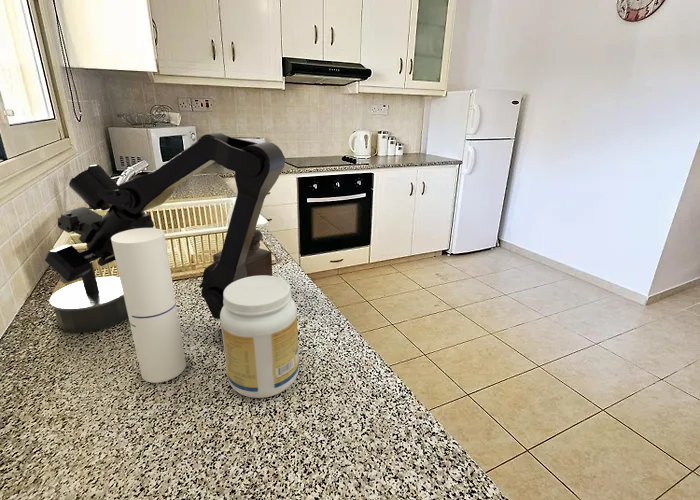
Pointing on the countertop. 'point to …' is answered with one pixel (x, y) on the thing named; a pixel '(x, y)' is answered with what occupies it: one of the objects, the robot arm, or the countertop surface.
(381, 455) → the countertop surface
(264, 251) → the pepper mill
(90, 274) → the pan lid
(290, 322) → the supplement tub
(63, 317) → the pan
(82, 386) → the countertop surface
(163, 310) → the cylindrical container
